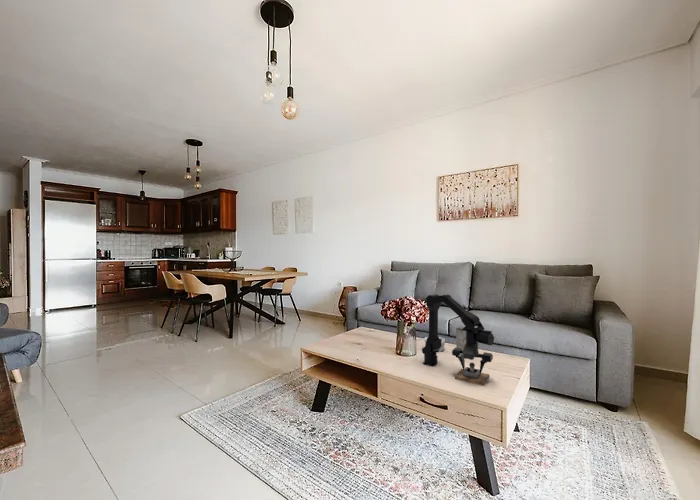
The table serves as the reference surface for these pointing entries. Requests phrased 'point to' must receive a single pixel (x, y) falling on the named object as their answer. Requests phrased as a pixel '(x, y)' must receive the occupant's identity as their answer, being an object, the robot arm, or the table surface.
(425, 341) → the ramekin
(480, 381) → the square knob plate
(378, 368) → the table surface
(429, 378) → the table surface
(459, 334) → the coffee box
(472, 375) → the metal link
